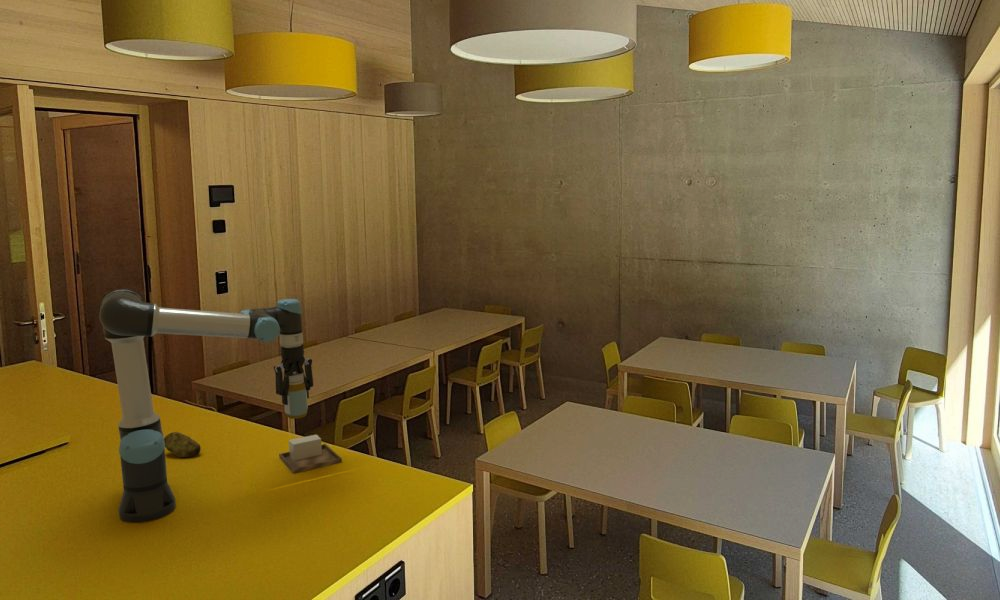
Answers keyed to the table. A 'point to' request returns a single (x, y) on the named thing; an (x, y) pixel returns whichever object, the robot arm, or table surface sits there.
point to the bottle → (297, 396)
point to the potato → (181, 445)
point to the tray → (311, 460)
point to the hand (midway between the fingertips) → (296, 410)
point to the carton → (305, 447)
